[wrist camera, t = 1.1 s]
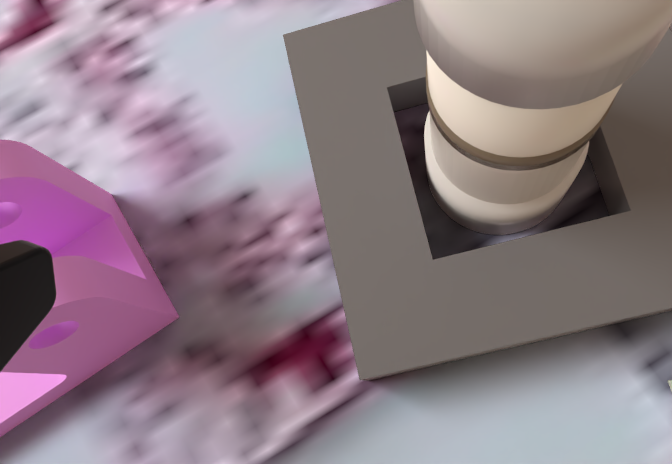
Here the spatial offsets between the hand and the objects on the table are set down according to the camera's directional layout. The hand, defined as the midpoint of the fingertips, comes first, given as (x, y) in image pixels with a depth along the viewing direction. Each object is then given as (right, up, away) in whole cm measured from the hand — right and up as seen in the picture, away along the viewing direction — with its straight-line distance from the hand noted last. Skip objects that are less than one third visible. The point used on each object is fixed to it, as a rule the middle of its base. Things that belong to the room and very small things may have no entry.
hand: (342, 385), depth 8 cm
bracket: (-12, -3, +16) cm, 20 cm away
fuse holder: (+5, +4, +14) cm, 15 cm away
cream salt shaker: (+5, +4, +14) cm, 15 cm away
